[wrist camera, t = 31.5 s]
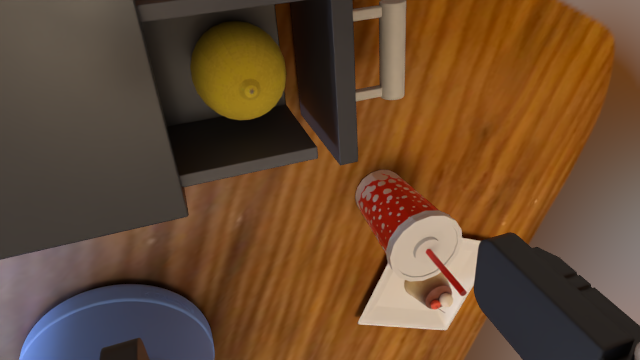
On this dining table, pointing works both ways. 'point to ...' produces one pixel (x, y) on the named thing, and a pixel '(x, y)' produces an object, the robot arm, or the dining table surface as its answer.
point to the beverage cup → (409, 228)
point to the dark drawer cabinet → (79, 126)
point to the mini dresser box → (314, 91)
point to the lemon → (238, 70)
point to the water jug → (121, 325)
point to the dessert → (422, 295)
